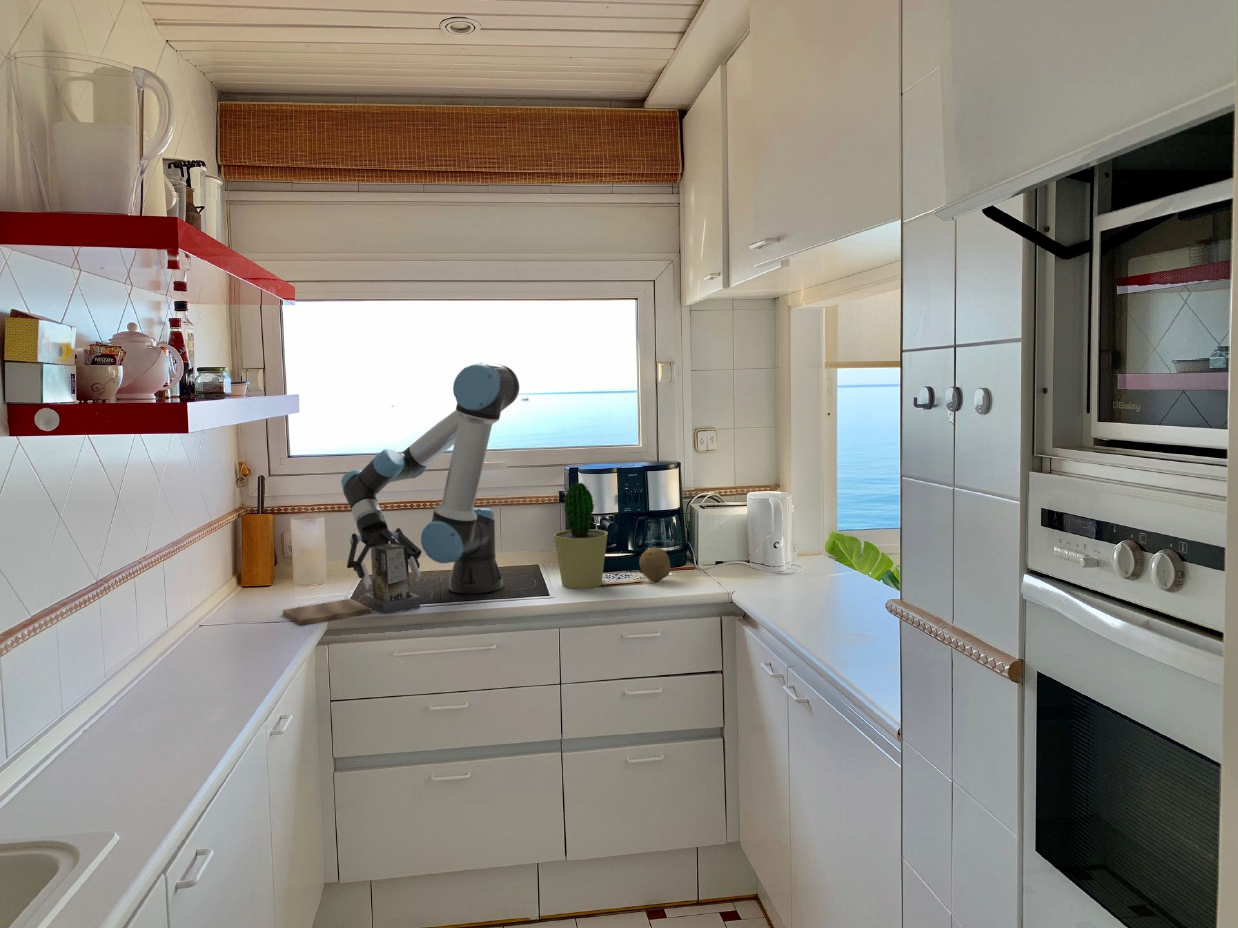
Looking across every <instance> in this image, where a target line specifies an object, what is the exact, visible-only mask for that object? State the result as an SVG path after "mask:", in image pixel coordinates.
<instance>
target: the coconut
mask: <svg viewBox="0 0 1238 928" xmlns="http://www.w3.org/2000/svg"><path fill="white" fill-rule="evenodd" d="M638 560H639V562H638V563H639V568H640V570H641V571H642V574H643V575H644V576H645V577H646V579H648V580H649V581H650V582H653V583H657V582H660V581H661V580H663V579H664V578H666V577H668V576H669V575H670V572H671V564H670V563H671V562H670V557H669V555H668V553H667V552H666V551H664V549H661V548H660V547H657V546H654V547H653V546H652V547H649V548H647V549H646V550H645V551H643V553H641V556H640V557H639V559H638Z"/></svg>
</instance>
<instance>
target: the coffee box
mask: <svg viewBox="0 0 1238 928" xmlns="http://www.w3.org/2000/svg"><path fill="white" fill-rule="evenodd" d="M370 556H371V559H370V560H371V572H372V573H371V574H372V577H371V578H372V589H373V590H372V592H373V594H374V596H375V597H377V598H379V599H381V600H384V601H390V600H396V599H402V598H408V597H410V593H411V592H410V575H409V573H410V571H409V568H410V566H409V564H408V561H409V560H408V547H406V546H402V545H397V544H393V543H391V542H389V544H383V545H378V546H372V547H371V548H370Z"/></svg>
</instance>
